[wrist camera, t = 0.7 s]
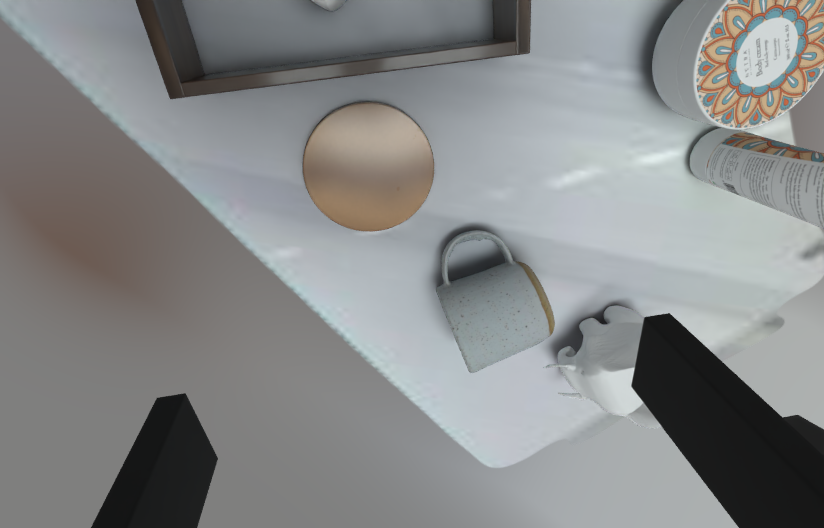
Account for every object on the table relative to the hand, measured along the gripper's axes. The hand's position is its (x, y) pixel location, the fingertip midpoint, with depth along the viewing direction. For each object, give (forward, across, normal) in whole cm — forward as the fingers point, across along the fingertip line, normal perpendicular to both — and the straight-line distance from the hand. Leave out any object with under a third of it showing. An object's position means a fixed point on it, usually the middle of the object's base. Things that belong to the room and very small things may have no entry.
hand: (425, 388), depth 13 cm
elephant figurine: (+24, +19, -21) cm, 37 cm away
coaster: (+24, -1, -1) cm, 24 cm away
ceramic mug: (+24, +7, -12) cm, 28 cm away
